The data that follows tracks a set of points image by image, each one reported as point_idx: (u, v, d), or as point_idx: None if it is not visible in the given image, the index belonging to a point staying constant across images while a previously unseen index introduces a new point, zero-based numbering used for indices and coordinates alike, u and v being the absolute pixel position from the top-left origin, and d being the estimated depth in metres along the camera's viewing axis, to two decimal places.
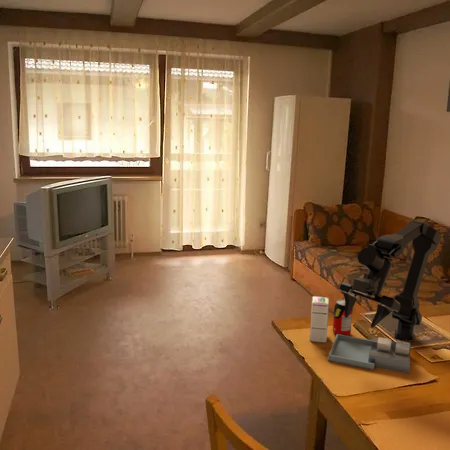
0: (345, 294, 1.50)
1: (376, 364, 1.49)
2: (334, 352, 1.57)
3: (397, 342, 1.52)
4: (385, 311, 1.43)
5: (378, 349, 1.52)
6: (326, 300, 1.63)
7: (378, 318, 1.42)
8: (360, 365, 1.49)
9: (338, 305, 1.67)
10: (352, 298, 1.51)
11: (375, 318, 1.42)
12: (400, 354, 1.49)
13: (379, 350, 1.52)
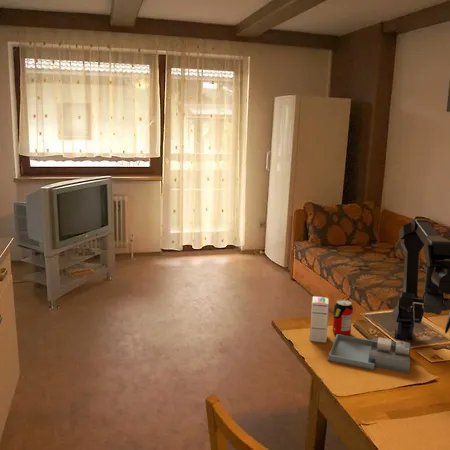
0: (409, 309, 1.44)
1: (376, 364, 1.49)
2: (334, 352, 1.57)
3: (397, 342, 1.52)
4: None
5: (378, 349, 1.52)
6: (326, 300, 1.63)
7: None
8: (360, 365, 1.49)
9: (338, 305, 1.67)
10: (413, 308, 1.46)
11: (449, 326, 1.42)
12: (400, 354, 1.49)
13: (379, 350, 1.52)
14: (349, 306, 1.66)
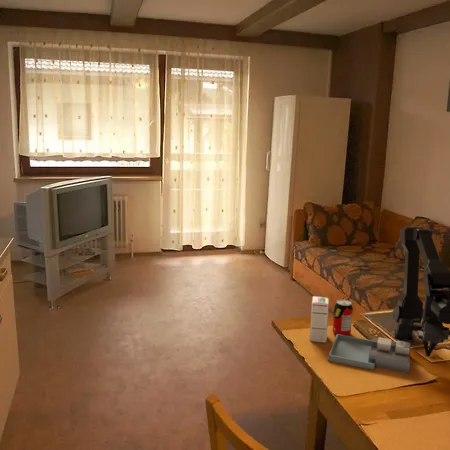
0: (424, 339, 1.45)
1: (376, 364, 1.49)
2: (334, 352, 1.57)
3: (397, 342, 1.52)
4: None
5: (378, 349, 1.52)
6: (326, 300, 1.63)
7: (433, 347, 1.47)
8: (360, 365, 1.49)
9: (338, 305, 1.67)
10: None
11: (431, 349, 1.46)
12: (400, 354, 1.49)
13: (379, 350, 1.52)
14: (349, 306, 1.66)
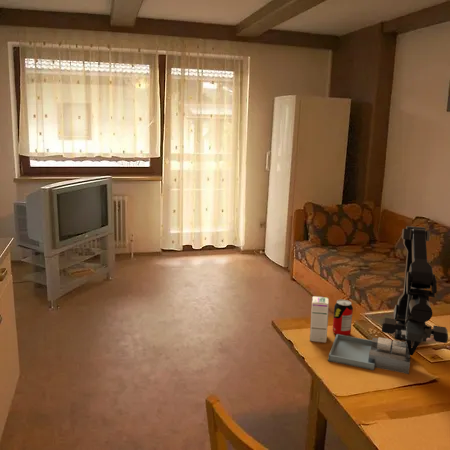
0: (407, 338, 1.47)
1: (376, 364, 1.49)
2: (334, 352, 1.57)
3: (393, 341, 1.52)
4: None
5: (378, 349, 1.52)
6: (326, 300, 1.63)
7: (416, 346, 1.48)
8: (360, 365, 1.49)
9: (338, 305, 1.67)
10: None
11: (414, 348, 1.48)
12: (397, 353, 1.50)
13: (379, 350, 1.52)
14: (349, 306, 1.66)
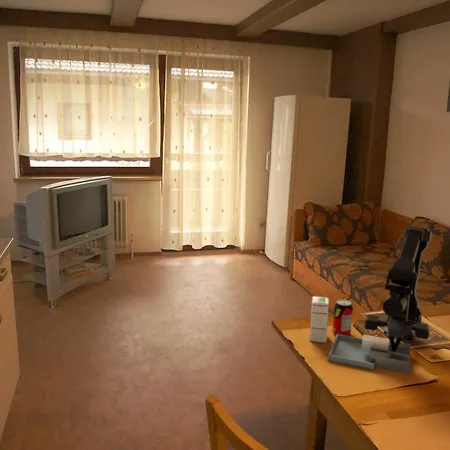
0: None
1: (376, 364, 1.49)
2: (334, 352, 1.57)
3: (377, 338, 1.54)
4: None
5: (363, 346, 1.53)
6: (326, 300, 1.63)
7: None
8: (360, 365, 1.49)
9: (338, 305, 1.67)
10: None
11: (397, 345, 1.50)
12: (379, 350, 1.51)
13: (364, 347, 1.53)
14: (349, 306, 1.66)
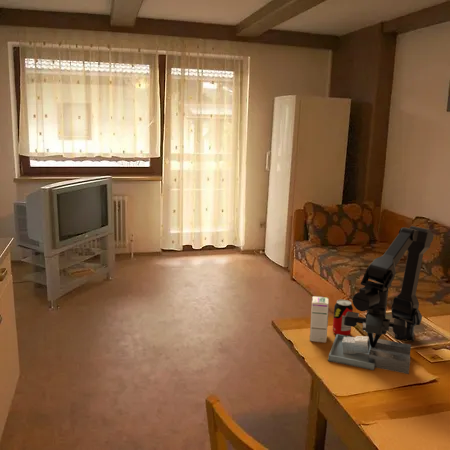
0: None
1: (376, 364, 1.49)
2: (334, 352, 1.57)
3: (356, 337, 1.56)
4: None
5: (350, 352, 1.55)
6: (326, 300, 1.63)
7: (377, 339, 1.53)
8: (360, 365, 1.49)
9: (338, 305, 1.67)
10: None
11: (375, 341, 1.52)
12: (360, 348, 1.54)
13: (350, 351, 1.55)
14: (349, 306, 1.66)
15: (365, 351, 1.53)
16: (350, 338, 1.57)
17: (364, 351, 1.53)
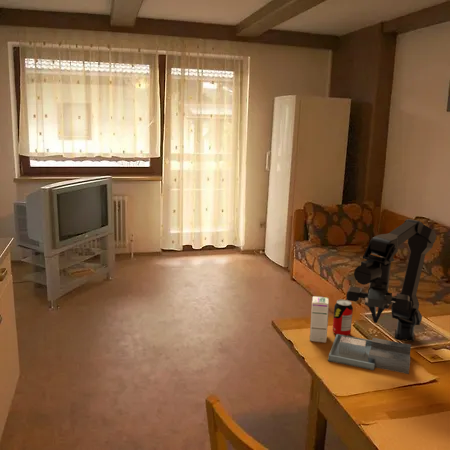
0: None
1: (376, 364, 1.49)
2: (334, 352, 1.57)
3: (354, 340, 1.57)
4: None
5: (345, 352, 1.56)
6: (326, 300, 1.63)
7: None
8: (360, 365, 1.49)
9: (338, 305, 1.67)
10: None
11: (378, 316, 1.51)
12: (356, 352, 1.54)
13: (346, 351, 1.56)
14: (349, 306, 1.66)
15: (361, 355, 1.54)
16: (348, 338, 1.58)
17: (360, 355, 1.54)
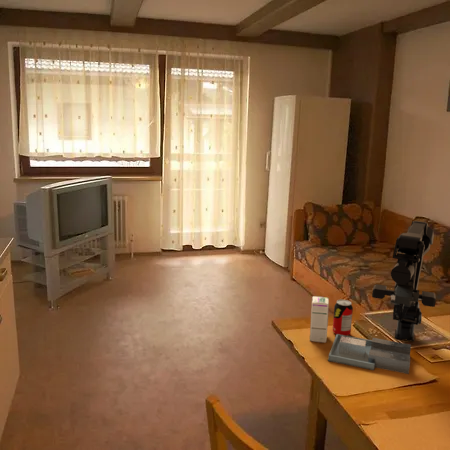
0: (396, 303, 1.52)
1: (376, 364, 1.49)
2: (334, 352, 1.57)
3: (354, 340, 1.57)
4: None
5: (345, 352, 1.56)
6: (326, 300, 1.63)
7: (405, 311, 1.53)
8: (360, 365, 1.49)
9: (338, 305, 1.67)
10: None
11: (403, 313, 1.53)
12: (356, 352, 1.54)
13: (346, 351, 1.56)
14: (349, 306, 1.66)
15: (361, 355, 1.54)
16: (348, 338, 1.58)
17: (360, 355, 1.54)
